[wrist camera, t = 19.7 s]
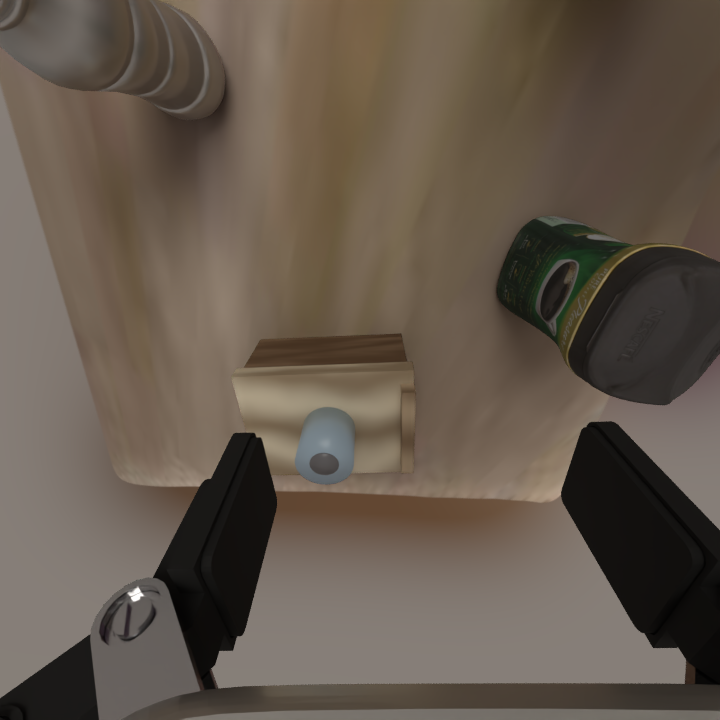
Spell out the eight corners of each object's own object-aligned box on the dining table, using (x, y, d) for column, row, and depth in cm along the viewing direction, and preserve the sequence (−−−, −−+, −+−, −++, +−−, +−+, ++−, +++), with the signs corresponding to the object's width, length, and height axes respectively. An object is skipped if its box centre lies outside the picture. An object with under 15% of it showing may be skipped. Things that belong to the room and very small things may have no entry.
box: (260, 339, 40) (241, 371, 34) (401, 333, 40) (407, 364, 33) (278, 421, 46) (264, 461, 40) (400, 418, 45) (405, 457, 39)
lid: (236, 368, 34) (225, 386, 31) (412, 361, 33) (416, 379, 30) (261, 464, 40) (254, 486, 37) (409, 460, 39) (413, 482, 37)
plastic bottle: (189, 139, 31) (-43, 107, 13) (132, 50, 28) (-262, -141, 10) (249, 96, 29) (75, -3, 12) (195, -3, 26) (-143, -331, 9)
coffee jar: (554, 316, 38) (692, 428, 22) (485, 302, 38) (575, 407, 21) (600, 223, 34) (819, 279, 17) (522, 206, 33) (674, 247, 17)
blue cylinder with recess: (300, 407, 34) (290, 443, 30) (353, 406, 34) (351, 441, 30) (306, 448, 36) (298, 485, 32) (356, 447, 36) (355, 484, 32)
